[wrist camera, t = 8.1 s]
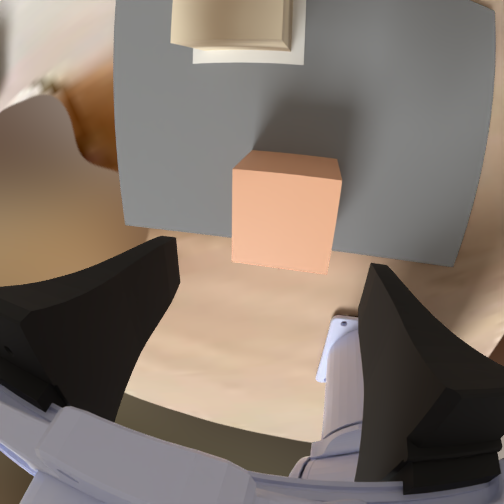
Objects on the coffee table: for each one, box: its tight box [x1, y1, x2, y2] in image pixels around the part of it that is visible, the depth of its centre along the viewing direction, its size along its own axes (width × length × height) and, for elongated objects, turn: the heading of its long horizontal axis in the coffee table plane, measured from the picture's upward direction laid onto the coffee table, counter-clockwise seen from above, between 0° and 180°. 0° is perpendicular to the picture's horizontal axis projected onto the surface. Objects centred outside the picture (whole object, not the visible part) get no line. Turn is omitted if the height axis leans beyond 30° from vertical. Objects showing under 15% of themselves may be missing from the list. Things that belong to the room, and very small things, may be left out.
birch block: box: [170, 0, 293, 52], centre depth 12 cm, size 5×5×4 cm
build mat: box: [113, 0, 496, 267], centre depth 16 cm, size 24×18×1 cm
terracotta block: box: [232, 150, 342, 275], centre depth 17 cm, size 5×5×4 cm
